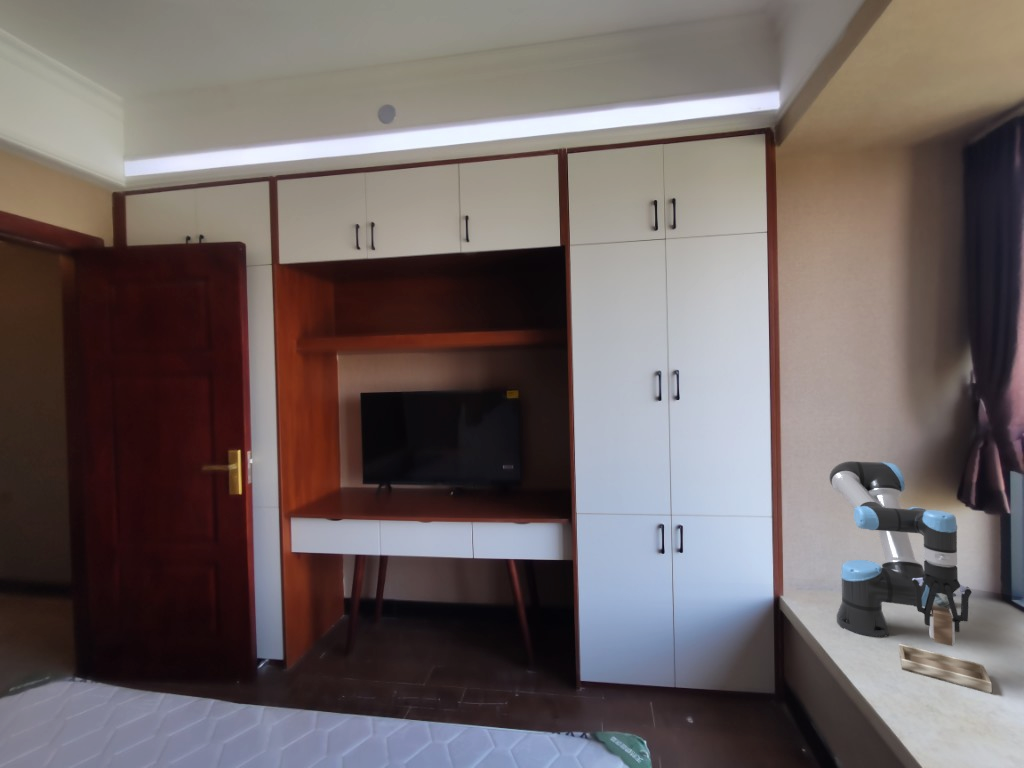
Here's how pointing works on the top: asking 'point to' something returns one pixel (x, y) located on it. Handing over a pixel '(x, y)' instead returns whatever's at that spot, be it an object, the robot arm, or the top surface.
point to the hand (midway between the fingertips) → (941, 638)
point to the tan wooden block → (942, 625)
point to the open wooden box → (945, 668)
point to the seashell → (942, 599)
